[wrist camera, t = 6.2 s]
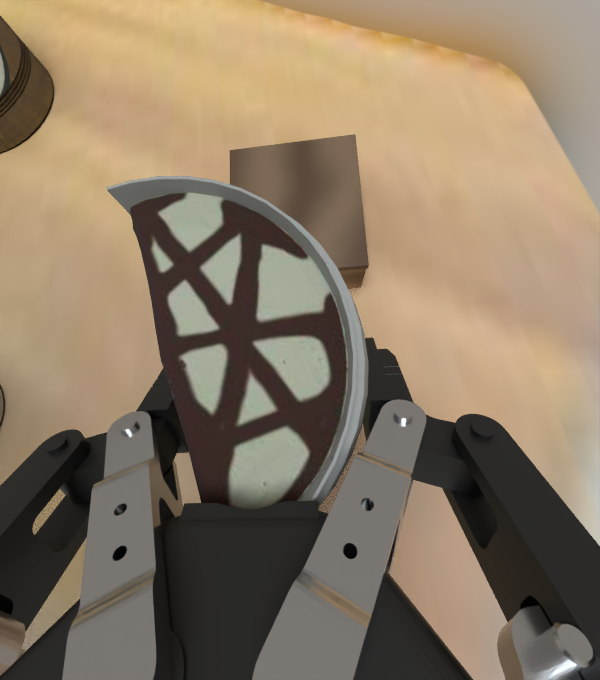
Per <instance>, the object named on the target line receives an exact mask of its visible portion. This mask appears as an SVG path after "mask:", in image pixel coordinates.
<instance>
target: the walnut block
mask: <svg viewBox="0 0 600 680" xmlns="http://www.w3.org/2000/svg"><path fill="white" fill-rule="evenodd" d="M230 185H233V186H236V187H239V188H242V189H244V190H246V191H248V192H250V193H252V194H254V195H257V196H259V197H261V198H263V199H265V200H267V201H268V202H270V203H271V204H272V205H274V206H275V207H277V208H278V209H280V210H281V211H282V212H284V213H285V214H287V215H288V216H289V217H291V218H292V219H294V220H295V221H296V222H298V223H299V224H300V225H301V226H302V227H303V228H305V229H306V230H307V231H308V232H309V233H310V234H311V235H312V236H313V237H314V238H315V239H316V240H317V241H318V242H319V243H320V244H321V246H322V247H323V249H324V250H325V251H326V253H327V254H328V255H329V257H330V258H331V260H332V261H333V262H334V264H335V265H336V267H337V268H338V270H339V272H340V274H341V276H342V278H343V280H344V282H345V284H346V286H347V288H357V287H361V285H362V281H363V277H364V274H365V270H366V268H368V255H367V245H366V235H365V225H364V215H363V205H362V196H361V186H360V176H359V166H358V156H357V146H356V136H355V135H347V136H339V137H331V138H323V139H315V140H308V141H300V142H292V143H284V144H276V145H268V146H260V147H252V148H244V149H237V150H230Z"/></svg>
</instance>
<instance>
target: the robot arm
mask: <svg viewBox="0 0 600 680" xmlns="http://www.w3.org/2000/svg"><path fill="white" fill-rule="evenodd" d="M365 342H366V349H367V356H368V396H367V401H366V407H365V412H364V418H363V426H364V431H365V436H366V442H367V443H366V445H365V447H364V449H363V451H362V453H357V454H356V456H355V458H354V460H353V462H352V464H351V466H350V468H349V470H348V473H347V475H346V477H345V479H344V481H343V484H342V486H341V488H340V490H339V492H338V494H337V497H336V499H335V501H334V503H333V505H332V508H331V510H330V512H329V514H327V513H324V512H321V511H319V504H318V501H284V502H281V503H277V504H274V505H270V506H267V507H263V508H260V509H256V510H253V511H244V510H241V509H237V508H233V507H230V506H226V505H223V504H219V503H187V504H184V507H183V504H182V498H181V492H180V486H179V480H178V474H177V467H176V463H175V461H174V458H175V456H176V453H186V452H189V450H188V446H187V443H186V440H185V436H184V433H183V429H182V426H181V423H180V419H179V416H178V413H177V409H176V406H175V403H174V400H173V397H172V394H171V391H170V388H169V385H168V382H167V378H166V375H165V371H164V368H163V370H162V371H161V373H160V374H159V376H158V379H156V381H155V382H154V384H153V387H151V389H150V390H149V392H148V393H147V395H146V396H145V398H144V400H143V401H142V403H141V404H140V406H139V407H138V409H137V411H136V412H132V413H129V414H127V415H125V416H123V417H121V418H119V419H118V420H117V421H115V422H114V423H113V424H112V426H111V427H110V428H109V430H108V432H106V433H103V434H99V435H96V436H92V437H89V438H85V437H84V436H83V435H82V433H81V432H80V431H78V430H66V431H63V432H60V433H58V434H56V435H54V436H52V437H50V438H49V439H47V440H46V441H45V442H43V443H42V444H41V445H40V446H39V447H38V448H37V449H36V450H35V451H34V452H33V453H32V454H31V455H30V456H29V457H28V458H27V459H26V460H25V461H24V462H23V463H22V464H21V465H20V466H19V467H18V468H17V469H16V470H15V472H14V473H13V474H12V475H11V476H10V477H9V478H8V479H7V480H6V481H5V482H4V483H3V484H2V485H1V486H0V680H473V679H472V678H471V676H470V675H469V674H468V673H467V671H466V670H465V669H464V667H463V666H462V665H461V664H460V662H459V661H458V660H457V659H456V657H455V656H454V655H453V654H452V652H451V651H450V650H449V649H448V647H447V646H446V645H445V644H444V642H443V641H442V640H441V639H440V637H439V636H438V635H437V634H436V632H435V631H434V630H433V628H432V627H431V626H430V625H429V623H428V622H427V621H426V620H425V618H424V617H423V616H422V615H421V613H420V612H419V611H418V610H417V608H416V607H415V606H414V605H413V603H412V602H411V601H410V600H409V598H408V597H407V596H406V594H405V593H404V592H403V591H402V589H401V588H400V587H399V586H398V584H397V583H396V582H395V581H394V579H393V578H392V577H391V576H390V574H389V573H390V569H391V565H392V561H393V557H394V554H395V550H396V546H397V542H398V538H399V534H400V529H401V525H402V521H403V518H404V514H405V510H406V506H407V503H408V499H409V495H410V491H411V488H412V484H413V480H416V481H420V482H423V483H427V484H431V485H434V486H438V487H441V488H443V490H444V493H445V495H446V497H447V499H448V501H449V503H450V505H451V507H452V509H453V511H454V513H455V515H456V517H457V519H458V521H459V523H460V525H461V527H462V529H463V531H464V534H465V536H466V538H467V540H468V542H469V544H470V546H471V548H472V550H473V552H474V554H475V556H476V558H477V560H478V562H479V564H480V566H481V568H482V570H483V572H484V574H485V577H486V579H487V581H488V583H489V585H490V587H491V589H492V591H493V593H494V595H495V597H496V599H497V601H498V603H499V605H500V607H501V609H502V611H503V613H504V615H505V617H506V620H507V622H508V623H507V624H506V625H505V626H504V627H503V628H502V629H501V631H500V633H499V636H498V642H497V648H498V656H499V660H500V663H501V666H502V669H503V672H504V675H505V680H600V546H599V545H598V544H597V542H596V541H595V540H594V539H593V537H592V536H591V535H590V534H589V533H588V531H587V530H586V529H585V528H584V526H583V525H582V524H581V523H580V521H579V520H578V519H577V518H576V516H575V515H574V514H573V513H572V511H571V510H570V509H569V508H568V507H567V505H566V504H565V503H564V502H563V500H562V499H561V498H560V497H559V495H558V494H557V493H556V492H555V490H554V489H553V488H552V487H551V485H550V484H549V483H548V482H547V481H546V479H545V478H544V477H543V476H542V474H541V473H540V472H539V471H538V469H537V468H536V467H535V466H534V464H533V463H532V462H531V461H530V459H529V458H528V457H527V456H526V455H525V453H524V452H523V451H522V450H521V448H520V447H519V446H518V445H517V443H516V442H515V441H514V440H513V438H512V437H511V436H510V435H509V433H508V432H507V431H506V430H505V429H504V428H503V426H501V425H500V424H499V423H498V422H496V421H495V420H493V419H491V418H489V417H486V416H483V415H479V414H467V415H463V416H461V417H460V418H459V419H458V420H457V421H456V423H453V422H449V421H444V420H439V419H435V418H432V417H430V416H428V415H426V414H425V413H424V411H423V410H422V409H421V408H420V407H419V406H418V405H416V404H415V403H414V402H413V400H412V398H411V395H410V393H409V390H408V388H407V385H406V382H405V380H404V377H403V375H402V372H401V370H400V367H399V365H398V362H397V360H396V357H395V356H394V355H393V354H392V353H391V352H390V351H389V350H388V349H377V348H376V345H375V341H374V339H373V338H365ZM2 414H3V397H2V392H1V389H0V422H1V418H2ZM59 489H60V490H61V491H62V492H63V493H64V494H65V495H66V496H65V497H64V498H63V500H62V501H61V502H60V504H59V505H58V506H57V507H56V509H55V510H54V511H53V513H52V514H51V515H50V516H49V518H48V519H47V520H46V522H45V523H44V524H43V525H42V527H41V528H40V529H39V531H38V532H37V533H36V534H35V535H34V534H33V531H32V527H33V523H34V521H35V519H36V517H37V516H38V514H39V513H40V512H41V511H42V510H43V508H44V507H45V506H46V505H47V503H48V502H49V501H50V500H51V498H52V497H53V496H54V495H55V493H56V492H57V491H58V490H59ZM86 537H87V541H86V551H85V560H84V570H83V579H82V589H81V598H80V599H79V600H78V601H77V602H76V603H75V604H74V605H73V606H72V607H71V608H70V609H69V610H68V611H67V612H66V613H65V614H64V615H63V616H62V617H61V618H60V619H59V620H58V621H57V622H56V623H55V624H54V625H52V626H51V627H50V628H49V629H48V630H47V631H46V632H45V633H44V634H43V635H42V636H41V637H40V638H39V639H38V640H37V641H36V642H35V643H34V644H33V645H32V646H31V647H30V648H29V649H28V650H27V651H26V652H25V651H24V650H23V649H22V645H23V642H24V638H25V632H26V630H27V629H28V627H29V626H30V624H31V622H32V621H33V619H34V618H35V616H36V615H37V613H38V612H39V610H40V608H41V607H42V605H43V604H44V602H45V601H46V599H47V598H48V596H49V595H50V593H51V591H52V590H53V588H54V587H55V585H56V584H57V582H58V581H59V579H60V577H61V576H62V574H63V573H64V571H65V570H66V568H67V567H68V565H69V563H70V562H71V560H72V559H73V557H74V556H75V554H76V553H77V551H78V550H79V548H80V546H81V545H82V543H83V542H84V540H85V539H86Z"/></svg>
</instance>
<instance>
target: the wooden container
mask: <svg viewBox="0 0 600 680" xmlns="http://www.w3.org/2000/svg"><path fill="white" fill-rule="evenodd" d="M52 96H53V86H52V80H51V78H50V75H49V73H48V71H47V70H46V69H45V67H44V66H43V65H42V64H41V63H40V61H39V60H38V59H37V58H36V57H35V56H34V54H33V53H32V52H31V51H30V50H29V49H28V47H27V46H26V45H25V44H24V43H23V42H22V41H21V39H20V38H19V37H18V36H17V35H16V34H15V32H14V31H13V30H12V29H11V27H10V26H9V25H8V24H7V23H6V22H5V21H4V19H3V18H2V17H1V16H0V152H3V151H6V150H8V149H10V148H12V147H14V146H16V145H17V144H19V143H21V142H22V141H24V140H25V139H26V138H27V137H29V136H30V135H31V134H32V133H33V132H34V131H35V130H36V129H37V128H38V126H39V125H40V124H41V122H42V121H43V119H44V118H45V116H46V114H47V112H48V110H49V108H50V105H51V101H52Z"/></svg>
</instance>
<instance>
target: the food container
mask: <svg viewBox="0 0 600 680" xmlns="http://www.w3.org/2000/svg"><path fill="white" fill-rule="evenodd" d="M107 190H108V192H109V193H110V194H111V195H112V196H113V197H114V198H115V199H116V200H117V201H118V202H119V203H120V204H121V205H122V206H123V207H124V208H125V209H126V211H127V212H128V213H129V214H130V215H131V217H132V221H133V229H134V232H135V234H136V236H137V239H138V242H139V246H140V249H141V253H142V257H143V262H144V266H145V271H146V275H147V279H148V284H149V290H150V295H151V301H152V307H153V314H154V321H155V328H156V334H157V339H158V345H159V351H160V357H161V361H162V365H163V368H164V371H165V375H166V378H167V382H168V385H169V388H170V391H171V394H172V397H173V400H174V403H175V406H176V409H177V413H178V416H179V419H180V423H181V426H182V429H183V433H184V436H185V440H186V443H187V446H188V450H189V454H190V458H191V462H192V466H193V470H194V474H195V478H196V482H197V486H198V491H199V495H200V499H201V503H219V504H223V505H226V506H230V507H233V508H237V509H241V510H244V511H253V510H256V509H260V508H263V507H267V506H270V505H274V504H277V503H281V502H284V501H318V504H319V506H320V505H321V504H322V502H323V501H324V500H325V499H326V497H327V496H328V495H329V493H330V492H331V491H332V489H333V488H334V487H335V485H336V483H337V482H338V480H339V478H340V476H341V474H342V472H343V471H344V469H345V467H346V465H347V463H348V461H349V459H350V458H351V455H352V453H353V450H354V447H355V444H356V441H357V438H358V436H359V433H360V430H361V427H362V423H363V418H364V412H365V407H366V401H367V396H368V356H367V349H366V342H365V335H364V331H363V328H362V324H361V321H360V318H359V315H358V312H357V308H356V305H355V303H354V301H353V299H352V296H351V294H350V292H349V290H348V288H347V286H346V284H345V282H344V280H343V278H342V276H341V274H340V272H339V270H338V268H337V267H336V265H335V264H334V262H333V261H332V260H331V258H330V257H329V255H328V254H327V253H326V251H325V250H324V249H323V247H322V246H321V244H320V243H319V242H318V241H317V240H316V239H315V238H314V237H313V236H312V235H311V234H310V233H309V232H308V231H307V230H306V229H305V228H303V227H302V226H301V225H300V224H299V223H298V222H296V221H295V220H294V219H292V218H291V217H289V216H288V215H287V214H285V213H284V212H282V211H281V210H280V209H278V208H277V207H275V206H274V205H272V204H271V203H270V202H268V201H267V200H265V199H263V198H261V197H259V196H257V195H254V194H252V193H250V192H248V191H246V190H244V189H242V188H239V187H236V186H233V185H229V184H226V183H223V182H219V181H216V180H211V179H204V178H197V177H190V176H158V177H151V178H144V179H138V180H131V181H128V182H124V183H121V184H117V185H114V186H110V187H107Z"/></svg>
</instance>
